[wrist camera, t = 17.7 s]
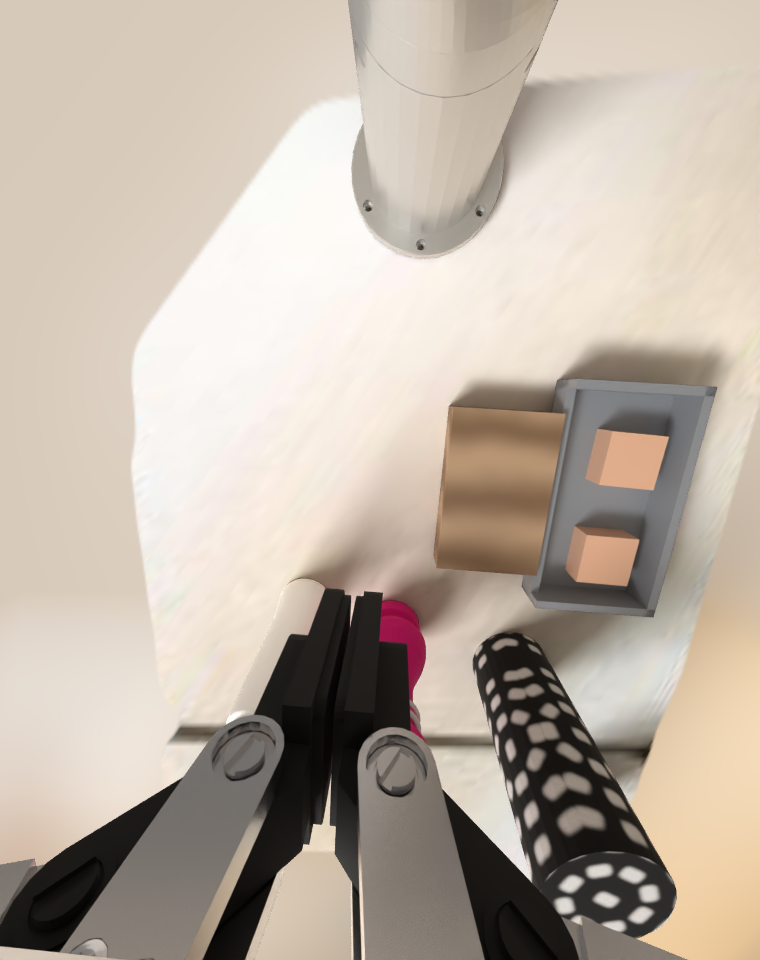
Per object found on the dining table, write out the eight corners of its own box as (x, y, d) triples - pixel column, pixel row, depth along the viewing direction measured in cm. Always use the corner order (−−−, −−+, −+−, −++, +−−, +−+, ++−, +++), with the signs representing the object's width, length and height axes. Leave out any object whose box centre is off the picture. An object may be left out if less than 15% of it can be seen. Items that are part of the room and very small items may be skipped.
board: (449, 405, 35) (453, 407, 32) (551, 412, 35) (565, 413, 32) (433, 555, 39) (436, 568, 36) (525, 561, 38) (536, 575, 35)
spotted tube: (559, 651, 41) (706, 885, 21) (519, 703, 43) (621, 960, 23) (496, 620, 40) (589, 831, 21) (459, 674, 42) (512, 913, 23)
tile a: (668, 436, 32) (649, 433, 34) (612, 431, 32) (597, 428, 34) (653, 490, 33) (635, 483, 35) (599, 484, 33) (585, 478, 35)
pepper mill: (366, 590, 40) (338, 774, 21) (429, 602, 40) (459, 798, 21) (355, 643, 42) (319, 859, 22) (415, 655, 42) (431, 882, 22)
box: (557, 380, 34) (577, 378, 30) (680, 387, 33) (717, 386, 30) (521, 586, 39) (535, 608, 35) (627, 594, 39) (653, 617, 35)
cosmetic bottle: (296, 631, 42) (190, 879, 20) (271, 589, 41) (131, 805, 19) (341, 613, 41) (280, 852, 20) (317, 569, 40) (224, 773, 18)
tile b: (639, 539, 34) (623, 530, 36) (587, 535, 34) (574, 525, 37) (627, 586, 35) (612, 573, 38) (576, 581, 35) (564, 569, 38)
